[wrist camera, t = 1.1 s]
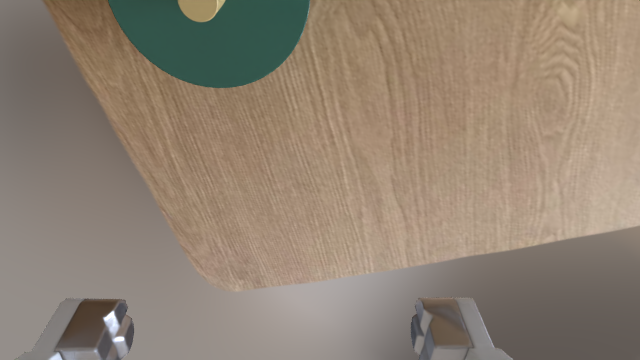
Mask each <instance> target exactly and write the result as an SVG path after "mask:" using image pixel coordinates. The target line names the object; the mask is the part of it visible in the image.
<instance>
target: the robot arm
mask: <svg viewBox="0 0 640 360" xmlns="http://www.w3.org/2000/svg"><path fill="white" fill-rule="evenodd" d="M415 308H416V311H417V314H416V315H414V316H413V317H412V322H411V338H412V344H413V349H414V351H415V352H416V353H417V354H418V355H419V356H420V357H419V360H513V359H512V358H510V357H509V356H508V355H507V354H506V353H505V352H503V351H502V350H501V349H500V348H494V346H493V344H492V342H491V339H490V337H489V334H488V332H487V330H486V327H485V325H484V323H483V320H482V318H481V315H480V313H479V311H478V308H477V306H476V304H475V301H474V300H473V299H472V298H452V297H449V298H448V297H447V298H446V297H445V298H418V300H417V301H416V305H415ZM127 309H128V306H127V304H126V301H125V300H122V299H65V300H64V301H63V302H61V303H60V305H59V307H58V308H57V310H56V311H55V313H54V315H53V316H52V318H51V320H50V321H49V323H48V325H47V326H46V328H45V330H44V331H43V333H42V335H41V336H40V338H39V340H38V341H37V343H36V344H35V346H34V348H33V349H32V351H31V352H25V353H24V354H22V355H21V356H19V357H18V358H17V359H15V360H121V359H122V358H123V357H124V356H126V355H127V354H128V353H129V350H130V348H131V345H132V342H133V335H134V326H133V325H134V324H133V321H132V318H130V317H129V316H128V315H126V311H127Z"/></svg>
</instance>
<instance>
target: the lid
mask: <svg viewBox="0 0 640 360" xmlns="http://www.w3.org/2000/svg"><path fill="white" fill-rule="evenodd" d="M108 2H109V5H110V7H111V9H112V11H113V14H114V16H115V18H116V20H117V22H118V23H119V25H120V27H121V29H122V30H123V32H124V33H125V34H126V36H127V37H128V39H129V40H130V41H131V43H132V44H133V45H134V46H135V47H136V48H137V49H138V50H139V52H140V53H142V54H143V55H144V56H145V57H146V58H147V59H148V60H149V61H150V62H152V63H153V64H154V65H156V66H157V67H159V68H160V69H161V70H163V71H165V72H167V73H168V74H170V75H172V76H174V77H176V78H178V79H180V80H183V81H185V82H189V83H192V84H195V85H199V86H205V87H213V88H230V87H236V86H242V85H246V84H249V83H252V82H255V81H257V80H259V79H261V78H263V77H265V76H266V75H268V74H269V73H271V72H273V71H274V70H275V69H276V68H277V67H279V66H280V65H281V64H282V63H283V62H284V61H285V60H286V59H287V57H288V56H289V55H290V54H291V53H292V51H293V50H294V48H295V47H296V45H297V43H298V41H299V39H300V37H301V35H302V33H303V30H304V27H305V24H306V21H307V17H308V12H309V6H310V0H108Z"/></svg>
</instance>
